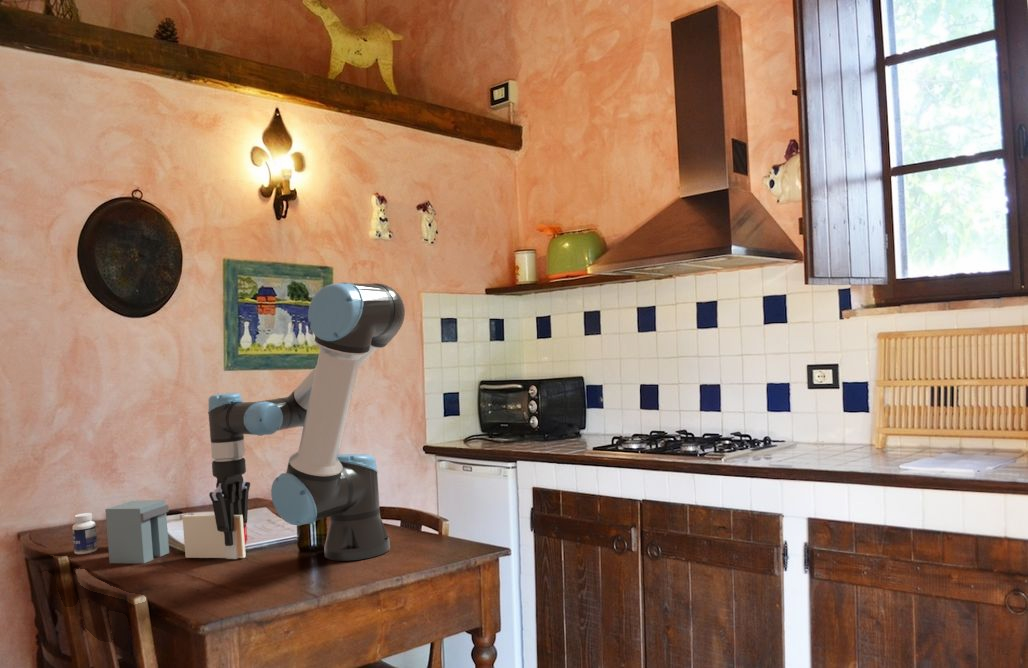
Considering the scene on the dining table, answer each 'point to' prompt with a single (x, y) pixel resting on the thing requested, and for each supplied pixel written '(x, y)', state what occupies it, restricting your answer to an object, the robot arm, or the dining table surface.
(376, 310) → the robot arm
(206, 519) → the cream panel tan stripe
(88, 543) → the pill bottle
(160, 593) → the dining table surface
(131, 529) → the block
